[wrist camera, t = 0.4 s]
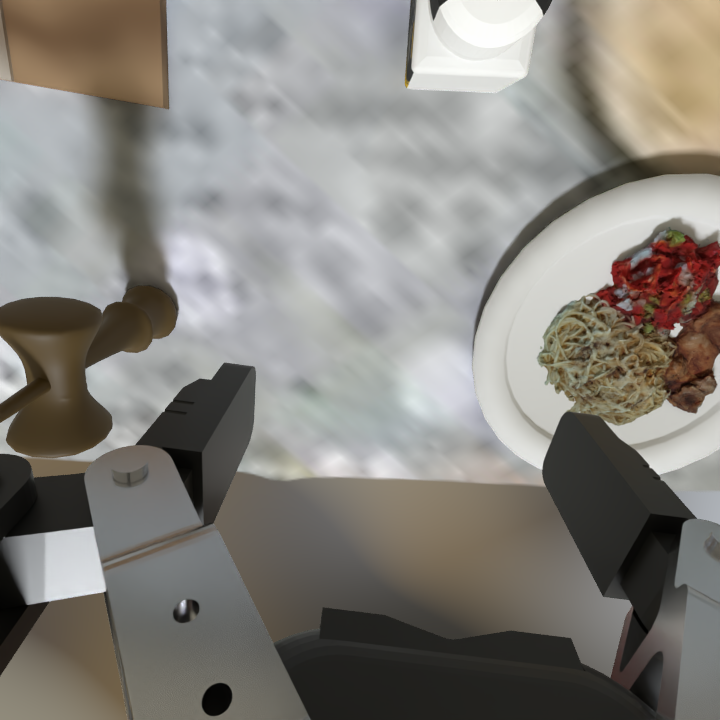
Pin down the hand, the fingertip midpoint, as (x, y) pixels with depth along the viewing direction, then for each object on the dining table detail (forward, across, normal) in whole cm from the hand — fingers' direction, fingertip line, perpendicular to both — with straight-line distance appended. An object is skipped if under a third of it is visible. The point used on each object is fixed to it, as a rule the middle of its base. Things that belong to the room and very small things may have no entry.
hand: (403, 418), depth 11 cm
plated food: (+29, -25, +7) cm, 39 cm away
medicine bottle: (+29, -3, -15) cm, 33 cm away
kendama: (+29, +20, +10) cm, 37 cm away
